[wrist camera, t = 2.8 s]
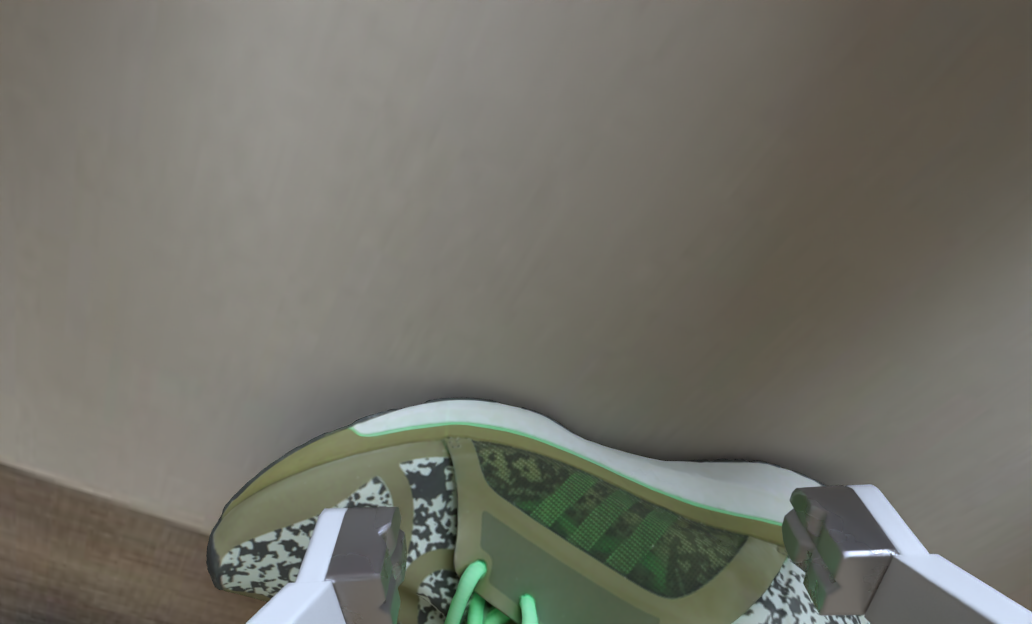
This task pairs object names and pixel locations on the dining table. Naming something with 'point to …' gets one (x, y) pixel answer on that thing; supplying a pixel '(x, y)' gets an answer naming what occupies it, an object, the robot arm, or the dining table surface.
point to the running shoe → (529, 523)
